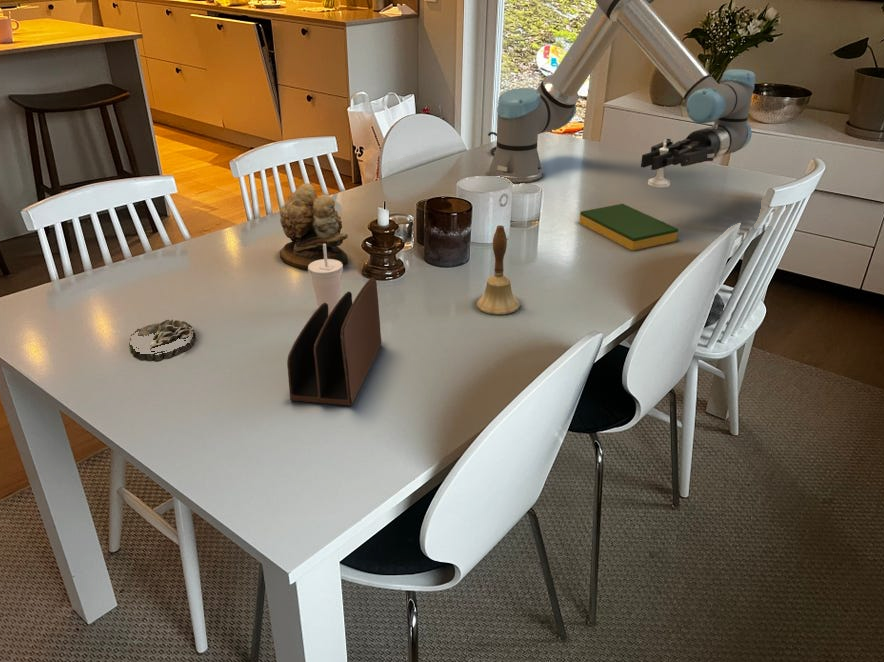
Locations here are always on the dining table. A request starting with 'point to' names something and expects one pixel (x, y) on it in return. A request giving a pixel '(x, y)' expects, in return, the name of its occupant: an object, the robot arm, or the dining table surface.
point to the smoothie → (326, 280)
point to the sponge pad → (628, 226)
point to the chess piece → (660, 172)
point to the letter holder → (336, 349)
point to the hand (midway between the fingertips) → (648, 162)
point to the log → (165, 338)
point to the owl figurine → (311, 228)
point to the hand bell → (498, 282)
